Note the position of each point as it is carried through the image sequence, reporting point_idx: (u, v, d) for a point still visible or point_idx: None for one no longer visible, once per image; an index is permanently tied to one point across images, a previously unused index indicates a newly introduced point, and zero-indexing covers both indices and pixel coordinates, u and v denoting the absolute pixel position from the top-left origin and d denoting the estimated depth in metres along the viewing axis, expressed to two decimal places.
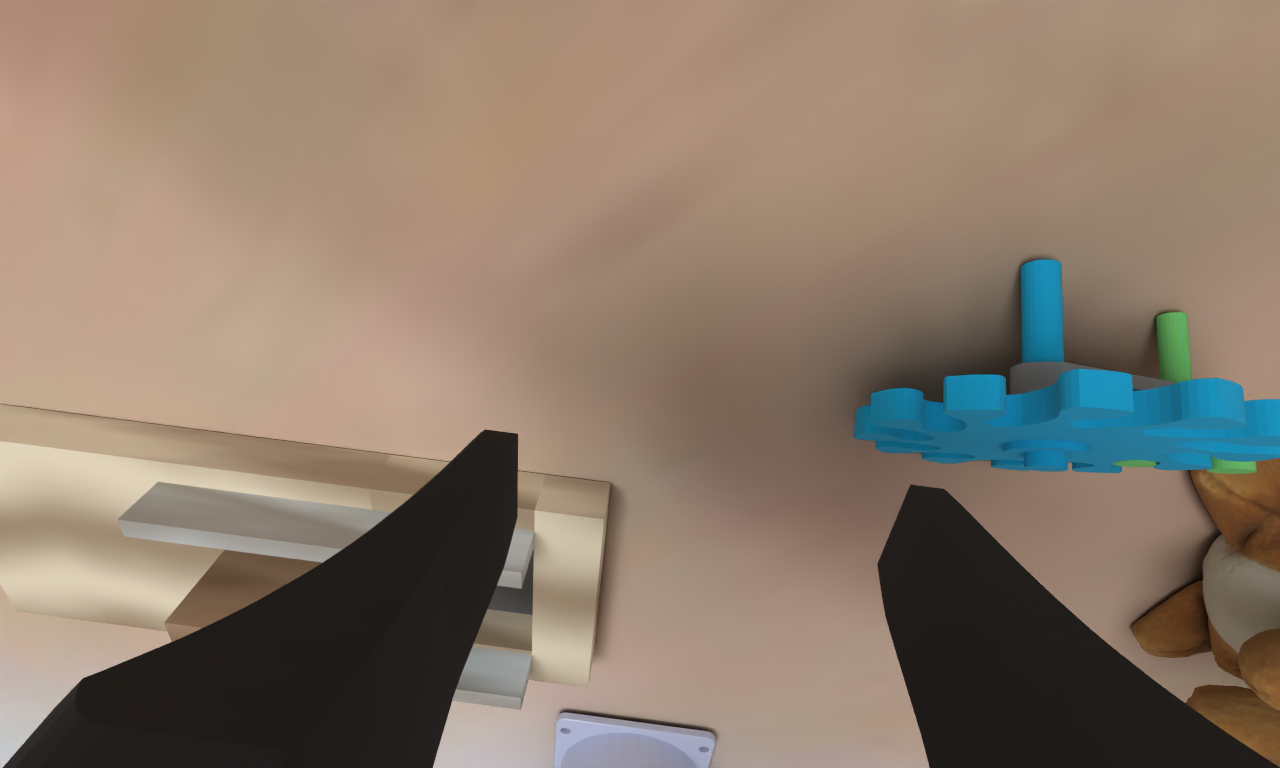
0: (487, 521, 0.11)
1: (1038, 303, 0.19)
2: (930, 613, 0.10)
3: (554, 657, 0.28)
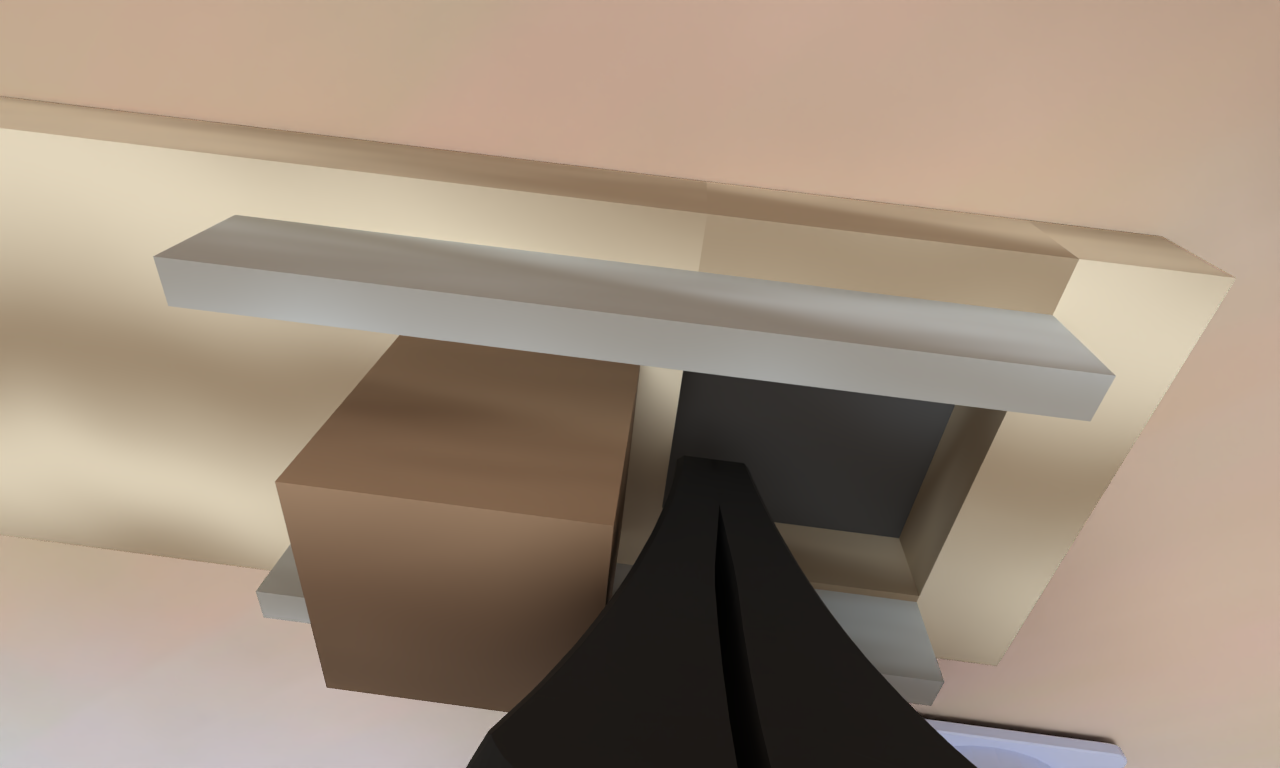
0: None
1: None
2: None
3: (959, 608, 0.15)
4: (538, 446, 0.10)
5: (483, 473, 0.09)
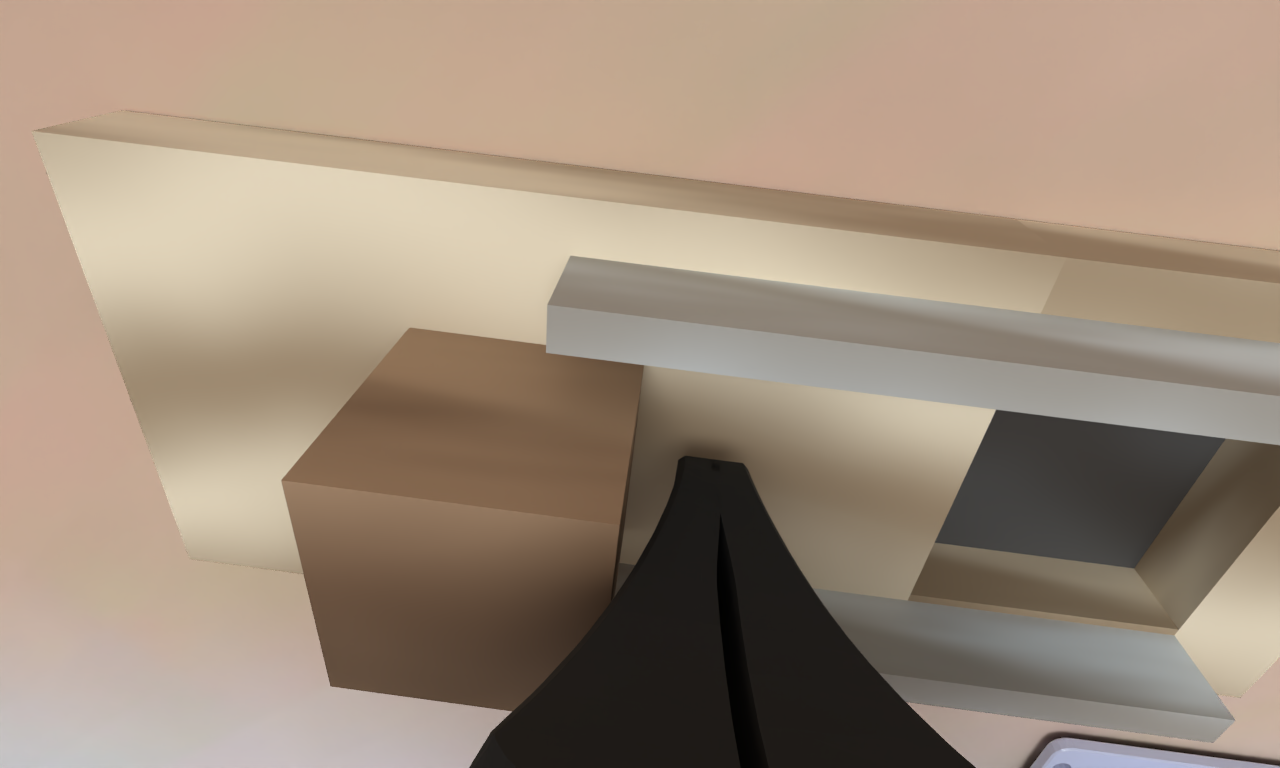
0: None
1: None
2: None
3: (1217, 641, 0.15)
4: (543, 445, 0.10)
5: (489, 472, 0.09)
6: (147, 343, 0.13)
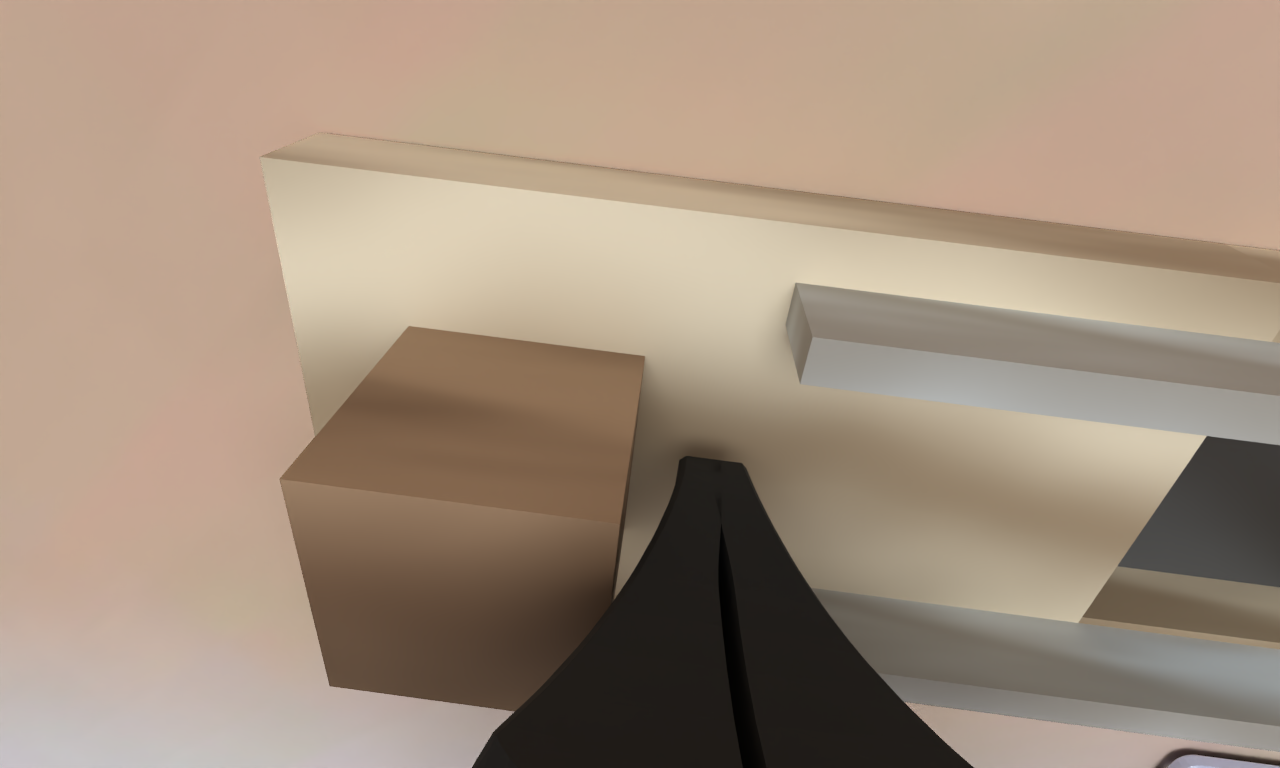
0: None
1: None
2: None
3: None
4: (543, 444, 0.10)
5: (489, 470, 0.09)
6: (340, 367, 0.13)
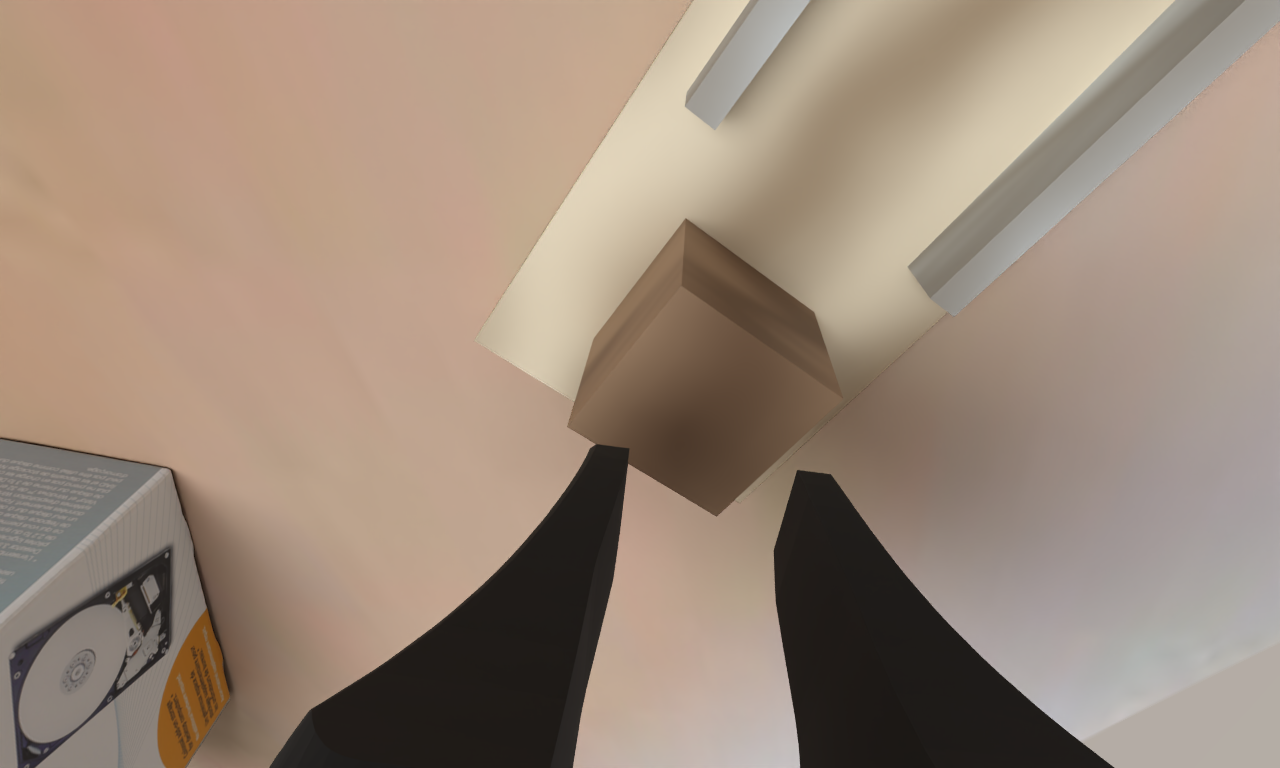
0: (612, 537, 0.10)
1: None
2: (804, 597, 0.11)
3: None
4: (649, 302, 0.15)
5: (631, 336, 0.15)
6: None
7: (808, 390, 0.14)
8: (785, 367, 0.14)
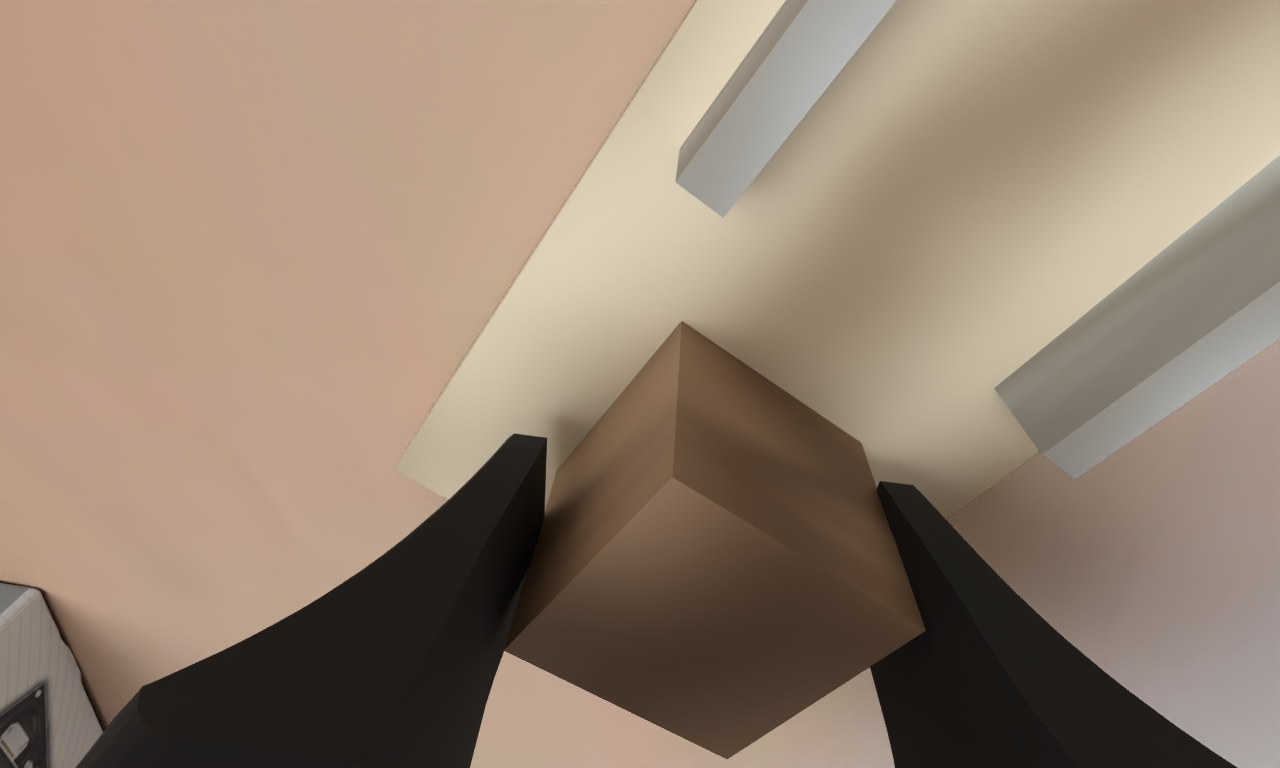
0: (520, 525, 0.11)
1: None
2: None
3: None
4: (626, 468, 0.10)
5: (598, 525, 0.10)
6: None
7: (871, 618, 0.09)
8: (837, 588, 0.09)
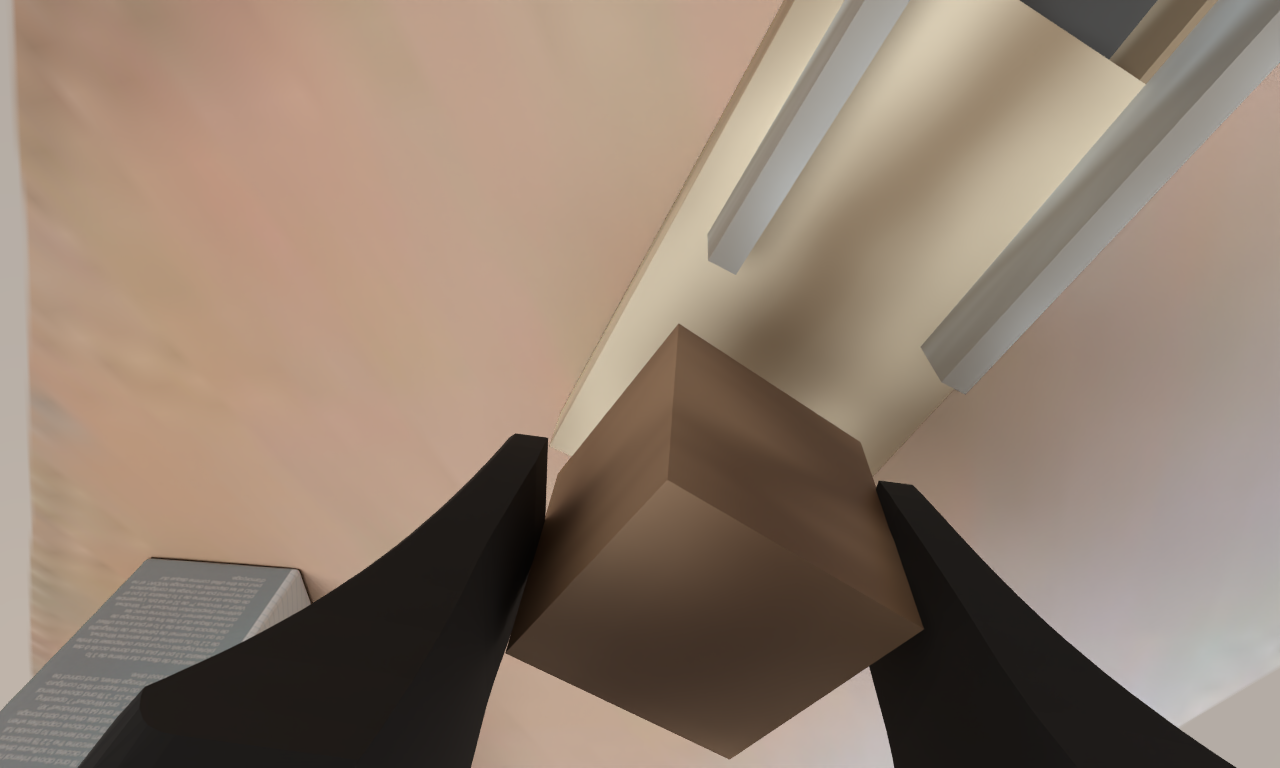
0: (521, 525, 0.11)
1: None
2: None
3: None
4: (623, 470, 0.10)
5: (596, 527, 0.10)
6: None
7: (869, 618, 0.09)
8: (834, 588, 0.09)
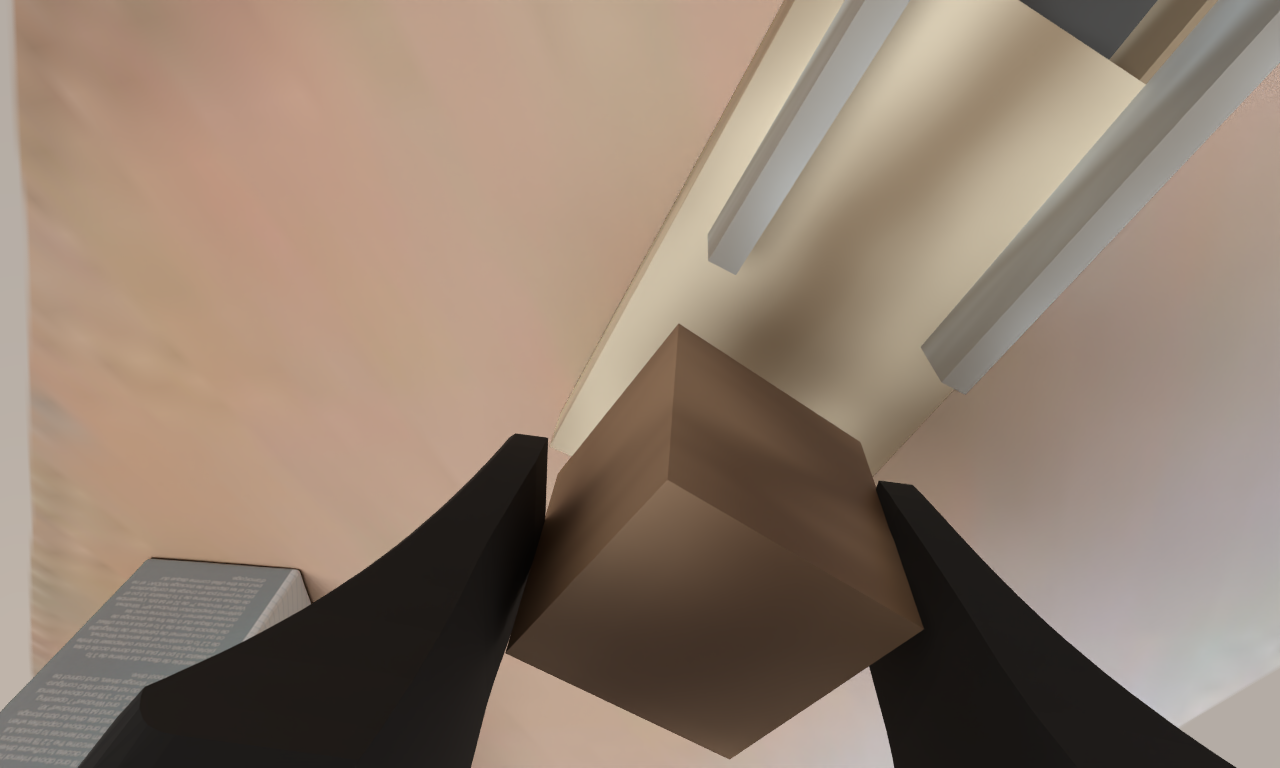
0: (521, 525, 0.11)
1: None
2: None
3: None
4: (624, 470, 0.10)
5: (596, 527, 0.10)
6: None
7: (869, 618, 0.09)
8: (834, 588, 0.09)
